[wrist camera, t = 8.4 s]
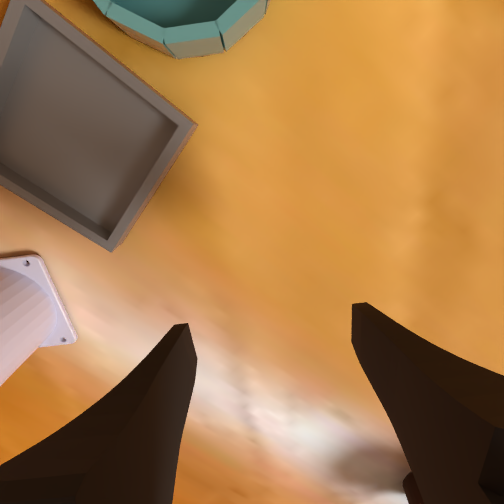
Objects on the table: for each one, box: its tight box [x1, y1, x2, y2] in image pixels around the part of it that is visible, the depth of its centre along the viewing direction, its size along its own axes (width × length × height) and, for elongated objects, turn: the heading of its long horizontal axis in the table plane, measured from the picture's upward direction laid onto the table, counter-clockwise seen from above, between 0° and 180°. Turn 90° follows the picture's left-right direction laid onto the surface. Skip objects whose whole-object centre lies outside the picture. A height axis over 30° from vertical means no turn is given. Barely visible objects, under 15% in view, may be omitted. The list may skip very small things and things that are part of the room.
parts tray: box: [0, 0, 198, 252], centre depth 17 cm, size 10×10×2 cm
